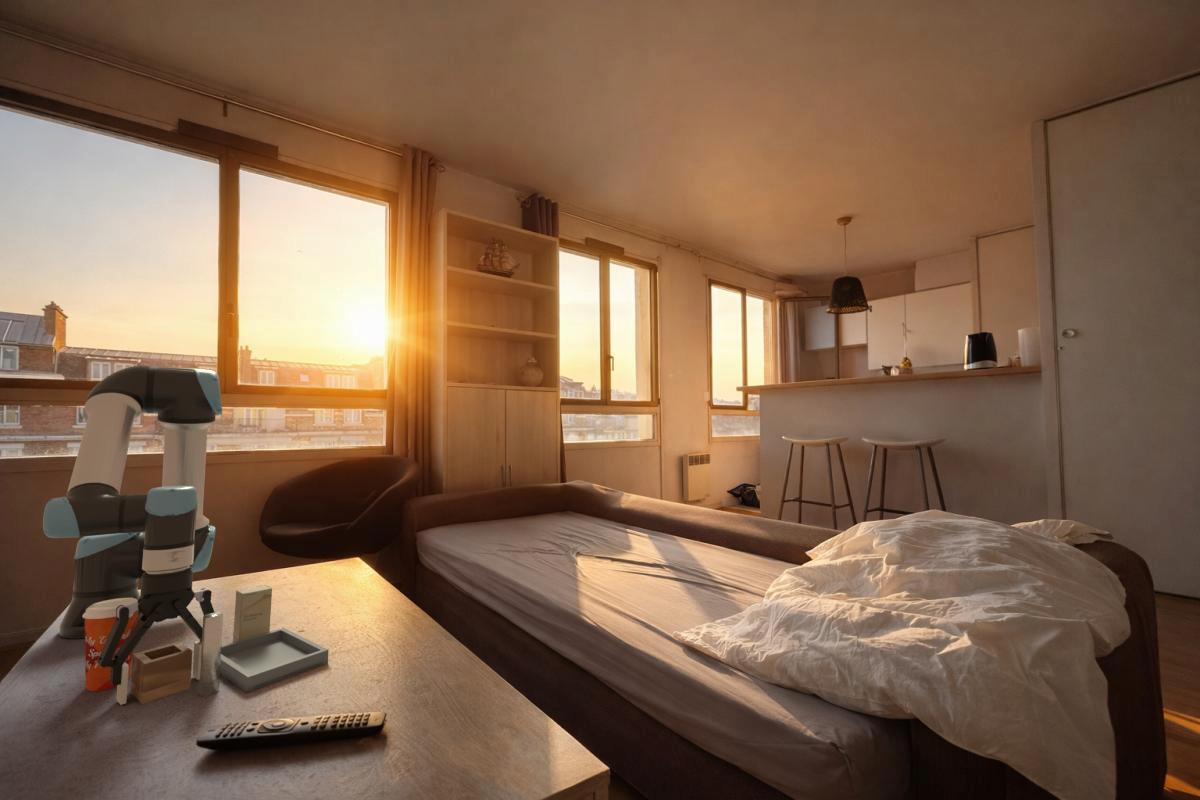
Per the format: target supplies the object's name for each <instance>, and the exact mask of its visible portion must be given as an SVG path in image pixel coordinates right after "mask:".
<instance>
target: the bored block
mask: <svg viewBox="0 0 1200 800" xmlns="http://www.w3.org/2000/svg"><path fill="white" fill-rule="evenodd" d="M193 653H194V650H192V649H191V648H189V647H188V646H187V645H185V644H184V643H182V642H181V641H176V642H173V643H169V644H166V645H165V644H164V645H161V646H158V647H154V648H150V649H147V650H142V651H140V652H134V653H133V654H132V661H131V677H130V678H131V681H130V693H131V694H132V696H134V697H135V698H136V700H138V702H139V703H141V704H142V705H144V704H148V703H150V702H153V701H156V700H158V699H162V698H165V697H168V696H171V695H174V694H177V693H180V692H183V691H186V690H189V689H191V682H192V681H191V680H192V670H193Z"/></svg>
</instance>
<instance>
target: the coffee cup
mask: <svg viewBox="0 0 1200 800" xmlns="http://www.w3.org/2000/svg"><path fill="white" fill-rule="evenodd" d="M137 602H138V601H137V599H135V598H118V599H111V600H106V601H102V602H98V603H95V604H92V605H91V606H90V607H88V608H87V609H86V612H85V613H84V614H83V616H82V617H83V618H85V638H84V655H85V657H84V658H85V659H84V660H85V661H84V664H85V666H84V667H85V669H84V670H85V688H86V691H89V692H99V691H101V692H102V691H105V690H110V689H114V688H117V685H116V686H113V685H112V684H111V682H110V675H111V667H105V668H103V667H101V666H100V665H99V664H98V663H97V660H98V658H99V656H100V653H101V651H102V649H103V647H104V644H105V642H106V640H107V638H108V635H109V633H110V631H111V629H112V627H113V624H114V622H115V620H116V608H117V607H118V606H119V605H124V606H127V605H131V604H135V603H137ZM137 617H138V610H136V611H135V612H134V614H133V616H132V617H130V618H129V620H128V623H127V626H126V628H125V630H124V633H123V635H122V637H121V640H120V642H119V644H118V646H117V649H116V651H115V653H114V655H115V654H116V652H117V651H118V650H119V648H120V647H121V645H122V644H123V643H124V641H125V640H126V639H127V637H128V636H129V634H130V633H131V632H132V630H133V629H134V627H135V626H136V625H137ZM133 654H134V650H133V651H132V652H131V654H130V655H129V656H128V658H127V659H126V661H125V663H127V664H128V665H129V669H128V680H129V678H130V674H131V673H130V672H131V669H132V662H133ZM114 655H113V657H114Z"/></svg>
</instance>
